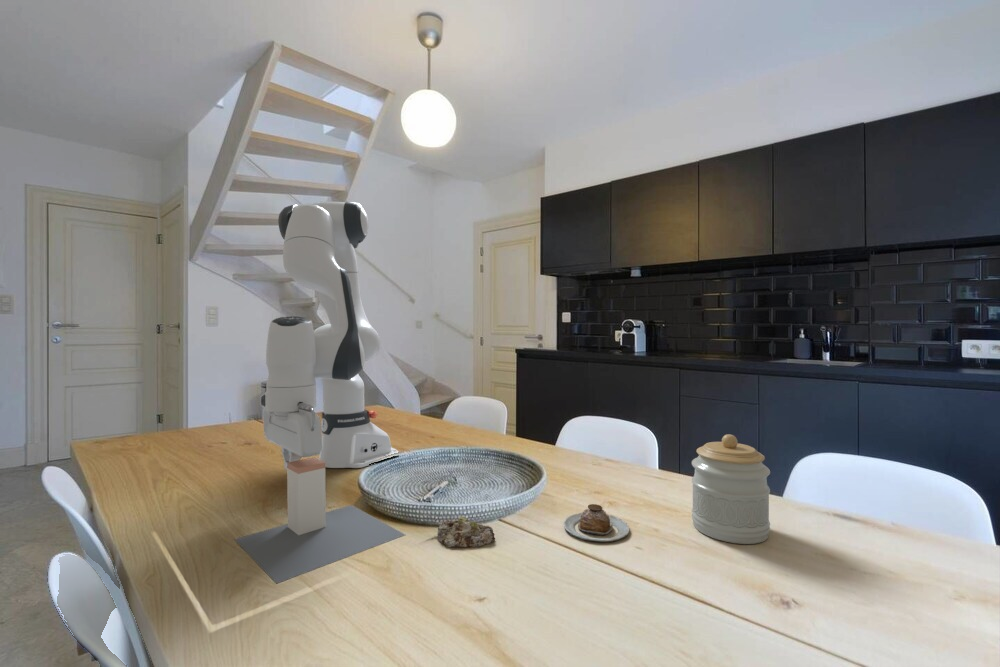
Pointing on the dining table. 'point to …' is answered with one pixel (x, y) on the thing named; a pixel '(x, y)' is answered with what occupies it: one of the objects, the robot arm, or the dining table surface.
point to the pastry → (596, 524)
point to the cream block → (306, 495)
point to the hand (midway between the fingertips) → (291, 470)
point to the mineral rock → (464, 533)
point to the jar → (731, 492)
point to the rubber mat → (316, 543)
